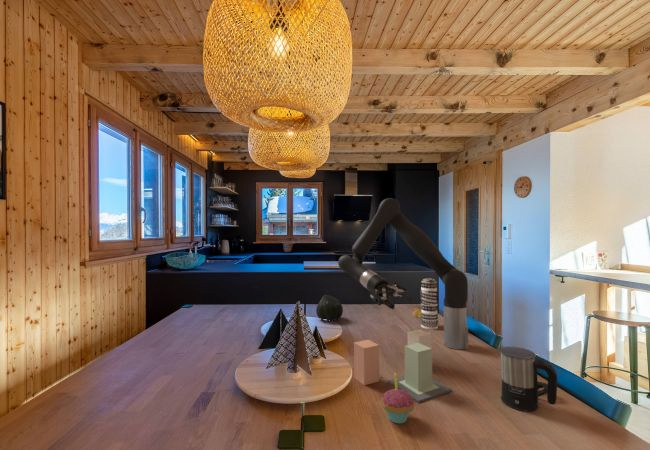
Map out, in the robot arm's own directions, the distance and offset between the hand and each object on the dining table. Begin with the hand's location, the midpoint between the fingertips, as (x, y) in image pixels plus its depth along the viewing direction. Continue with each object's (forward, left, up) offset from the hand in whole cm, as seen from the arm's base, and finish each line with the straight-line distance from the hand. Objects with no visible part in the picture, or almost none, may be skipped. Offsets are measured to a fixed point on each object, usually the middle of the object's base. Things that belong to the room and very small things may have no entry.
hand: (402, 303), depth 116 cm
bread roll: (-12, -71, -24) cm, 76 cm away
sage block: (-4, +15, -23) cm, 27 cm away
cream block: (-6, -2, -23) cm, 24 cm away
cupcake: (+2, +34, -23) cm, 41 cm away
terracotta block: (+12, +13, -23) cm, 29 cm away
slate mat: (-5, +15, -23) cm, 28 cm away
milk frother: (-35, +16, -24) cm, 45 cm away
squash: (+39, -53, -23) cm, 70 cm away
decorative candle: (-15, -51, -23) cm, 58 cm away
